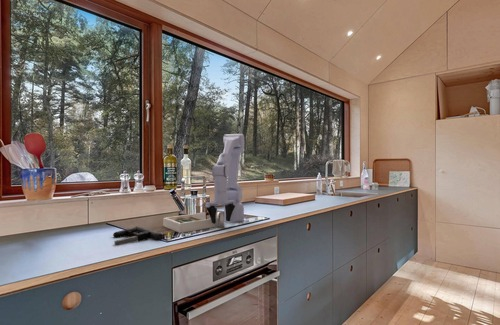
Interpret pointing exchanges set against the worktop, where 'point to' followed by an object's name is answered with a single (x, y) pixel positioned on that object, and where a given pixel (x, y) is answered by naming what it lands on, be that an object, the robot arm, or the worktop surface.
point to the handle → (220, 219)
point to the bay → (189, 223)
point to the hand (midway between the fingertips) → (220, 222)
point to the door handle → (136, 235)
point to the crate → (186, 219)
